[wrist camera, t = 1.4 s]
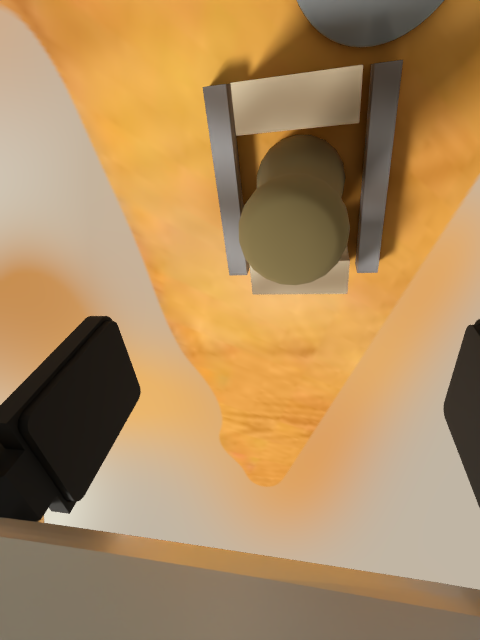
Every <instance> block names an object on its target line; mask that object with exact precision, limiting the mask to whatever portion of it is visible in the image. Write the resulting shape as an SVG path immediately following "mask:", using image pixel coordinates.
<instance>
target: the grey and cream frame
mask: <svg viewBox="0 0 480 640" xmlns="http://www.w3.org/2000/svg"><path fill="white" fill-rule="evenodd" d="M402 65H403V60H397V61H390V62H383V63H375V64H371V74H370V86H369V99H368V111H367V124H366V137H365V149H364V162H363V174H362V187H361V199H360V212H359V225H358V237H357V250H356V262H355V265H356V269H357V273H376V272H378V265H379V256H380V248H381V240H382V231H383V223H384V215H385V206H386V198H387V190H388V181H389V173H390V165H391V156H392V148H393V140H394V131H395V123H396V115H397V106H398V98H399V90H400V81H401V73H402ZM362 75H363V65H357V66H349V67H342V68H335V69H328V70H320V71H313V72H306V73H298V74H291V75H284V76H277V77H269V78H262V79H255V80H247V81H240V82H233V83H231V84H222V85H215V86H207V87H203V93H204V100H205V107H206V114H207V121H208V128H209V135H210V142H211V149H212V156H213V163H214V170H215V177H216V184H217V191H218V198H219V205H220V212H221V219H222V226H223V233H224V240H225V247H226V254H227V261H228V268H229V275H247V273H248V271H249V268H250V273H251V283H252V292H253V294H347V292H348V277H349V263H350V260H349V254H348V249H347V247H346V249H345V251H344V252H343V254H342V256H341V258H340V260H339V262H338V264H337V265H335V266H334V267H333V268H332V269H331V270H330V271H329V272H328V273H327V274H326V275H325V276H323V277H321V278H319V279H317V280H315V281H313V282H310V283H305V284H301V285H284V284H278V283H276V282H273V281H270V280H267V279H265V278H264V277H263V276H261V275H260V274H259V273H257V272H256V271H255V270H253V268H252V267H251V266H250V264H249V263H248V262H247V260H246V259H245V257H244V255H243V252H242V249H241V246H240V243H239V220H240V217H241V214H242V211H243V207H244V205H243V196H242V186H241V177H240V167H239V157H238V148H237V138H236V136H238V135H248V134H258V133H267V132H277V131H286V130H296V129H305V128H315V127H325V126H334V125H344V124H353V123H359V119H360V104H361V90H362Z"/></svg>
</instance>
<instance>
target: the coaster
mask: <svg viewBox="0 0 480 640" xmlns="http://www.w3.org/2000/svg"><path fill="white" fill-rule="evenodd" d="M443 1H444V0H297V2H298V5H299V7H300V8H301V10H302V12H303V14H304V15H305V17H306V18H307V19H308V21H309V22H310V23H311V25H312V26H313V27H314V28H315V29H316V30H317V31H318V32H320V33H321V34H322V35H324V36H325V37H326V38H328V39H329V40H332V41H334V42H336V43H338V44H341V45H345V46H349V47H359V48H360V47H372V46H377V45H381V44H384V43H387V42H389V41H392V40H395V39H397V38H398V37H400V36H402V35H404V34H406V33H408V32H409V31H411V30H412V29H414V28H415V27H417V26H418V25H419V24H421V23H422V22H423V21H424V20H425V19H426V18H428V17H429V16H430V15H431V14H432V13H433V12H434V11H435V10H436V9H437V8H438V7H439V6H440V4H441V3H442V2H443Z"/></svg>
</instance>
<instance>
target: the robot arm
mask: <svg viewBox="0 0 480 640" xmlns="http://www.w3.org/2000/svg"><path fill="white" fill-rule="evenodd" d="M139 397H140V386H139V383H138V380H137V378H136V374H135V372H134V369H133V366H132V363H131V361H130V358H129V355H128V352H127V350H126V347H125V344H124V342H123V339H122V336H121V333H120V330H119V327H118V325H117V323H116V322H114V321H112V319H111V318H110V317H107V316H90V317H87V318H86V319H85V320H84V321H83V322H82V323H81V324H80V325H79V326H78V327H77V328H76V329H75V330H74V331H73V332H72V333H71V334H70V335H69V336H68V337H67V338H66V339H65V340H64V341H63V342H62V343H61V344H60V345H59V346H58V347H57V348H56V349H55V350H54V351H53V352H52V353H51V354H50V355H49V356H48V357H47V358H46V360H44V361H43V363H42V364H41V365H40V366H39V367H38V368H37V369H36V370H35V371H34V372H33V373H32V374H31V375H30V376H29V377H28V378H27V379H26V380H25V381H24V382H23V383H22V384H21V385H20V386H19V387H18V388H17V389H16V390H15V391H14V392H13V393H12V394H11V395H10V396H9V397H8V398H7V399H6V400H5V401H4V402H3V403H2V404H1V405H0V640H480V590H478V589H472V588H466V587H460V586H454V585H449V584H443V583H437V582H431V581H425V580H418V579H412V578H405V577H399V576H392V575H386V574H380V573H373V572H366V571H361V570H354V569H348V568H341V567H335V566H329V565H322V564H316V563H309V562H303V561H297V560H290V559H284V558H277V557H270V556H264V555H257V554H250V553H244V552H237V551H231V550H224V549H218V548H211V547H204V546H198V545H191V544H184V543H178V542H171V541H164V540H158V539H151V538H144V537H138V536H131V535H124V534H117V533H110V532H103V531H96V530H89V529H83V528H76V527H68V526H62V525H55V524H48V523H44V514H45V512H46V510H47V509H48V507H49V508H50V510H51V511H55V512H62V513H68V514H70V512H71V510H72V509H73V507H74V505H75V503H76V502H77V501H79V500H81V499H82V498H83V497H84V495H85V493H86V492H87V490H88V488H89V486H90V484H91V483H92V481H93V479H94V477H95V476H96V474H97V472H98V470H99V469H100V467H101V465H102V463H103V461H104V460H105V458H106V456H107V454H108V453H109V451H110V449H111V447H112V446H113V444H114V442H115V440H116V438H117V436H118V435H119V433H120V431H121V430H122V428H123V426H124V424H125V422H126V421H127V419H128V417H129V415H130V413H131V412H132V410H133V408H134V406H135V405H136V402H137V401H138V399H139ZM444 416H445V419H446V421H447V424H448V427H449V429H450V432H451V435H452V437H453V440H454V442H455V445H456V447H457V450H458V453H459V455H460V458H461V460H462V463H463V465H464V468H465V471H466V473H467V476H468V479H469V481H470V484H471V486H472V489H473V492H474V494H475V497H476V499H477V502H478V505H479V507H480V319H479V320H477V321H476V323H475V325H469V326H468V327H467V329H466V331H465V334H464V338H463V341H462V344H461V349H460V351H459V355H458V358H457V361H456V365H455V368H454V372H453V375H452V379H451V381H450V385H449V388H448V392H447V395H446V398H445V402H444Z"/></svg>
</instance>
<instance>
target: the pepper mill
mask: <svg viewBox="0 0 480 640" xmlns="http://www.w3.org/2000/svg"><path fill="white" fill-rule="evenodd" d="M344 183H345V172H344V166H343V162H342V160H341V158H340V156H339V155H338V153H337V151H336V149H334V148H333V147H332V146H331V145H330V144H329V143H328V142H327V141H325V140H323V139H321V138H318V137H316V136H313V135H294V136H291V137H288V138H285V139H282V140H281V141H280V142H278V143H277V144H276V145H274V146H273V147H272V148H270V150H269V151H268V152H267V154H266V155H265V157H264V158H263V160H262V161H261V164H260V167H259V170H258V174H257V189H256V190H255V191H254V193H253V194H252V195H251V197H250V198H249V199H248V201H247V202H246V204H245V205H244V207H243V211H242V214H241V217H240V220H239V243H240V246H241V249H242V252H243V255H244V257H245V259H246V260H247V262H248V263H249V264H250V266H251V267H252V268H253V270H255V271H256V272H257V273H259V274H260V275H261V276H263V277H264V278H265V279H267V280H270V281H273V282H276V283H278V284H284V285H301V284H305V283H310V282H313V281H315V280H317V279H319V278H321V277H323V276H325V275H326V274H327V273H328V272H329V271H330V270H331V269H332V268H333V267H334V266H335V265H337V264H338V262H339V260H340V258H341V256H342V254H343V252H344V251H345V249H346V247H347V243H348V238H349V232H350V224H349V218H348V212H347V208H346V206H345V204H344V202H343V201H342V199H341V198H342V194H343V189H344Z"/></svg>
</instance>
